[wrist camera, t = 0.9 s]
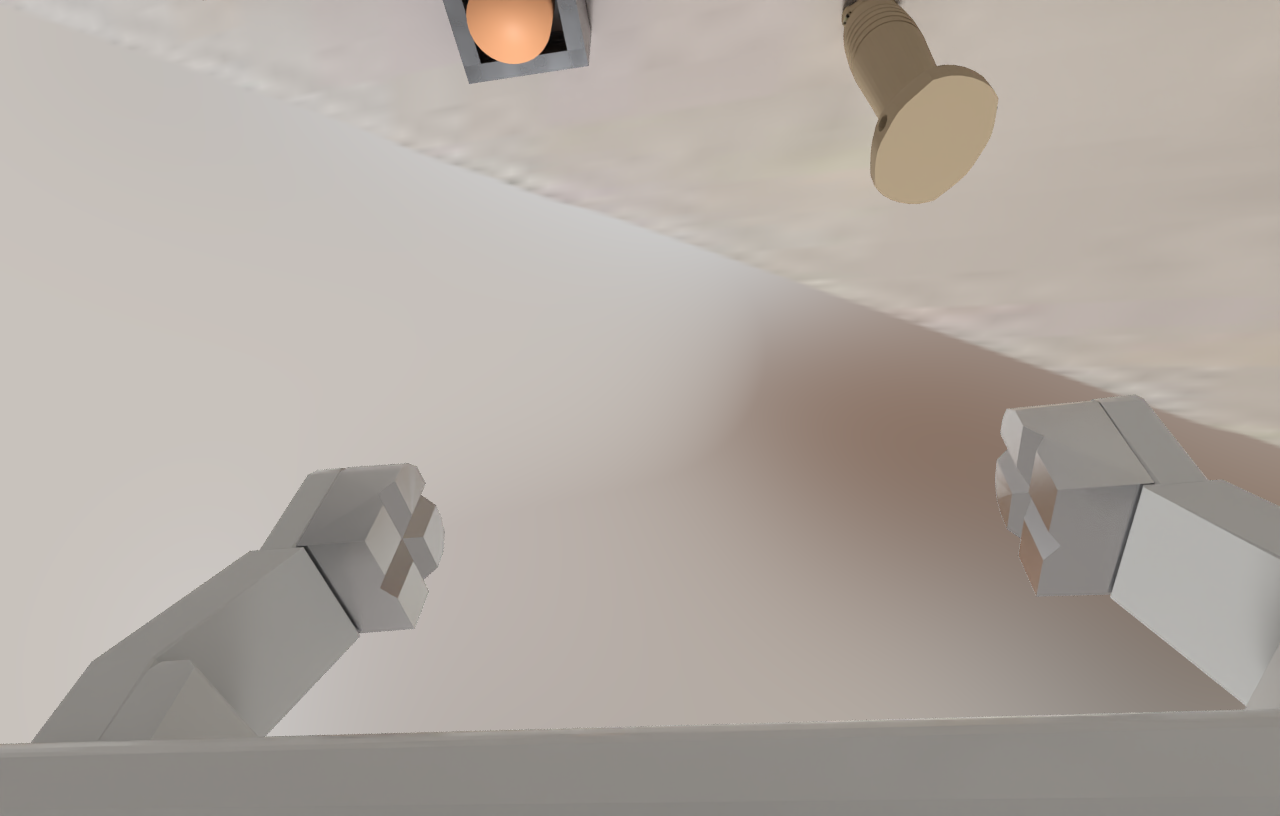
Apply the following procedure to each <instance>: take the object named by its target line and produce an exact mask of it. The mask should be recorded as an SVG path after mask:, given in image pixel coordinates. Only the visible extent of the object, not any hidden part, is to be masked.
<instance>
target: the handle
mask: <svg viewBox="0 0 1280 816" xmlns="http://www.w3.org/2000/svg"><path fill="white" fill-rule="evenodd" d="M842 23H843V25H844V36H843V37H844V47H845V53H846V56H847V60H848V64H849V67H850V69H851V72H852V74H853V76H854V79H855V81H856V83H857V85H858V86H859V88H860V89H861V91H862V93H863V94H864V96H865V97H866V99H867V101H868V102H869V104H870V105H871V107H872V109H873V110H874V112H875V114H876V116H877V117H878V119H879V120H878V122H877V125H876V128H875V132H874V136H873V141H872V147H871V162H870V173H871V178H872V180H873V183H874V185H875V187H876V188H877V190H878V191H879V192H880V193H881V194H882V195H883V196H885V197H887V198H889V199H891V200H894V201H897V202H901V203H907V204H920V203H926V202H930V201H933V200H935V199H937V198H938V197H939V196H940V195H942V194H943V193H944V192H946V191H947V190H948V189H950V188H951V187H952V186H953V185H955V184H956V183H957V182H958V181H959V180H961V179H962V178H963V177H964V176H965V175H966V174H967V173H968V171H969V170H970V169H971V167H972V166H973V165H974V163H975V162H976V160H977V159H978V157H979V155H980V154H981V152H982V151H983V149H984V148H985V146H986V144H987V142H988V141H989V139H990V137H991V134H992V130H993V127H994V122H995V117H996V111H997V104H998V97H997V95H996V93H995V91H994V90H993V89H992V87H991V86H990V85H989V83H988V82H987V81H986V80H985V78H984V77H983V76H981V75H980V74H978V73H977V72H975V71H973V70H971V69H968V68H966V67H962V66H956V65H941V66H936V64H935V61H934V59H933V57H932V55H931V52H930V50H929V48H928V45H927V43H926V41H925V39H924V36H923V35H922V33H921V31H920V30H919V28H918V27H917V25H916V24H915V22H914V21H913V19H912V18H911V17H910V16H909V15H908V14H907V13H906V12H905V11H904V10H903V9H902V8H901V7H900V6H899V5H898V4H897V3H896V2H895V1H894V0H857V1H856V2H855V3H854V4H852V5H851V6H847V7H846V8H845V9H844V11H843V14H842Z"/></svg>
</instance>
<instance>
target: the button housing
mask: <svg viewBox="0 0 1280 816" xmlns="http://www.w3.org/2000/svg"><path fill="white" fill-rule="evenodd" d="M468 1H469V0H443V2H444V6H445V9H446V12H447V15H448V18H449V21H450V24H451V28H452V31H453V34H454V37H455V40H456V43H457V46H458V50H459V53H460V56H461V59H462V62H463V65H464V69H465V72H466V75H467V78H468V81H469V84H471V83H478V82H485V81H491V80H498V79H504V78H511V77H518V76H524V75H531V74H538V73H544V72H551V71H558V70H564V69H571V68H577V67H584V66H589V55H590V43H591V29H590V23H589V18H588V13H587V7H586V2H585V0H555V9H554V15H553V21H552V27H551V32H550V37H549V40H548V42H547V44H546V46H545V48H544V49H543V51H542V52H541V53H540V54H539V55H538V56H536V57H535V58H534V59H532V60H530V61H528V62H525V63H520V64H508V63H503V62H500V61H497V60H495V59H493V58H491V57H490V56H488V55H487V54H486V53H484V52H483V51H482V50H481V49H480V48H479V47H478V45H477V44H476V43H475V41H474V40H473V38H472V36H471V34H470V31H469V28H468V24H467V18H466V11H467V4H468Z"/></svg>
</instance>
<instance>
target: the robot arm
mask: <svg viewBox="0 0 1280 816" xmlns="http://www.w3.org/2000/svg"><path fill="white" fill-rule="evenodd" d="M1000 434H1001V436H1002V438H1003V440H1004V442H1005V444H1006V446H1007V448H1008V449H1007V450H1006V451H1005V452H1004V453H1003V454H1002V455H1001V456H1000V457H999V458H998V459H997V465H996V475H995V484H996V495H997V502H998V505H999V509H1000V512H1001V516H1002V518H1003V521H1004V523H1005V526H1006V528H1007V529H1008V530H1009V531H1010V532H1012V533H1013V534H1015V535H1016V536H1018V537H1019V538H1021V541H1020V548H1019V554H1018V556H1019V558H1020V561H1021V563H1022V565H1023V568H1024V570H1025V572H1026V574H1027V576H1028V579H1029V581H1030V583H1031V586H1032V588H1033V590H1034V592H1035V594H1036V596H1067V595H1102V594H1111V597H1110V598H1111V599H1113V600H1114V601H1115V602H1116V603H1118V604H1119V605H1120V606H1121V607H1123V608H1124V609H1125V610H1127V611H1128V612H1129V613H1130V614H1132V615H1133V616H1134V617H1135V618H1137V619H1138V620H1139V621H1140V622H1142V623H1143V624H1144V625H1145V626H1147V627H1148V628H1149V629H1151V630H1152V631H1153V632H1154V633H1155V634H1157V635H1158V636H1159V637H1160V638H1162V639H1163V640H1164V641H1165V642H1167V643H1168V644H1169V645H1170V646H1172V647H1173V648H1174V649H1176V650H1177V651H1178V652H1179V653H1180V654H1182V655H1183V656H1184V657H1185V658H1187V659H1188V660H1189V661H1190V662H1192V663H1193V664H1194V665H1195V666H1197V667H1198V668H1199V669H1200V670H1202V671H1203V672H1204V673H1205V674H1207V675H1208V676H1209V677H1210V678H1212V679H1213V680H1214V681H1216V682H1217V683H1218V684H1219V685H1220V686H1222V687H1223V688H1224V689H1226V690H1227V691H1228V692H1229V693H1231V694H1232V695H1233V696H1234V697H1236V698H1237V699H1238V700H1239V701H1241V702H1242V703H1243V704H1244V705H1246V708H1245V710H1222V711H1185V712H1147V713H1110V714H1075V715H1074V714H1073V715H1035V716H999V717H963V718H929V719H895V720H894V719H892V720H860V721H859V720H857V721H823V722H822V721H821V722H786V723H750V724H713V725H678V726H676V725H675V726H640V727H639V726H638V727H604V728H603V727H601V728H563V729H530V730H529V729H528V730H527V729H526V730H490V731H455V732H454V731H453V732H417V733H381V734H348V735H346V734H344V735H312V736H311V735H309V736H274V737H273V736H272V737H265V736H266V735H267V734H268V733H269V732H270V731H271V730H272V729H273V728H274V727H275V726H276V725H277V723H278V722H279V721H280V720H281V719H282V718H283V717H284V716H285V715H286V714H287V713H288V712H289V711H290V710H291V709H292V708H293V707H294V706H295V705H296V703H297V702H298V701H299V700H300V699H301V698H302V697H303V696H304V695H305V694H306V693H307V692H308V691H309V690H310V689H311V688H312V686H314V684H315V683H316V682H317V681H318V680H319V679H320V678H321V677H322V676H323V675H324V674H325V673H326V672H327V671H328V670H329V669H330V668H331V667H332V665H333V664H334V663H335V662H336V661H337V660H338V659H339V658H340V657H341V656H342V655H343V654H344V653H345V652H346V650H348V649H349V647H350V646H351V645H352V644H353V643H354V642H355V641H356V640H357V639H358V638H359V637H360V634H359V633H368V632H380V631H392V630H405V629H414V628H415V626H416V624H417V621H418V618H419V616H420V613H421V611H422V608H423V605H424V603H425V600H426V597H427V595H428V592H429V591H428V588H427V587H426V584H425V582H424V579H425V578H426V577H427V576H428V575H429V574H431V572H433V571H434V570H435V569H436V568H437V567H438V565H439V562H440V559H441V557H442V554H443V549H444V527H443V523H442V518H441V515H440V513H439V511H438V509H437V507H436V505H435V504H433V503H432V502H430V501H429V500H428V499H426V498H425V497H423V496H422V495H421V494H422V491H423V489H424V486H425V484H426V483H425V481H424V479H423V477H422V475H421V473H420V472H419V470H418V468H417V466H414V465H411V464H409V463H406V464H390V465H375V466H360V467H348V468H338V469H326V470H325V469H324V470H316V471H315V472H313V473H311V474H309V475H308V476H307V477H306V479H305V480H304V482H303V483H302V485H301V487H300V488H299V490H298V491H297V493H296V494H295V496H294V497H293V499H292V501H291V502H290V504H289V505H288V507H287V508H286V510H285V511H284V513H283V515H282V516H281V518H280V519H279V521H278V522H277V524H276V526H275V527H274V529H273V530H272V532H271V534H270V535H269V537H268V538H267V539H266V541H265V543H264V544H263V546H262V547H261V549H260V550H256V551H249V552H248V553H246V554H245V555H244V556H242V557H241V558H239V559H238V560H236V561H235V562H234V563H232V564H231V565H229V566H228V567H226V568H225V569H224V570H222V571H221V572H219V573H218V574H216V575H215V576H214V577H212V578H211V579H209V580H208V581H207V582H205V583H204V584H202V585H201V586H199V587H198V588H196V589H195V590H194V591H192V592H191V593H189V594H188V595H186V596H185V597H184V598H182V599H181V600H179V601H178V602H176V603H175V604H174V605H172V606H171V607H169V608H168V609H166V610H165V611H164V612H162V613H161V614H159V615H158V616H156V617H155V618H154V619H152V620H151V621H149V622H148V623H146V624H145V625H144V626H142V627H141V628H139V629H138V630H136V631H135V632H134V633H132V634H131V635H129V636H128V637H126V638H125V639H124V640H122V641H121V642H119V643H118V644H117V645H115V646H114V647H112V648H111V649H109V650H108V651H107V652H105V653H104V654H102V655H101V656H99V657H98V658H96V659H95V660H94V661H92V662H91V664H90V665H89V666H88V667H87V669H86V670H85V672H84V673H83V674H82V675H81V677H80V678H79V679H78V681H77V682H76V683H75V685H74V686H73V687H72V689H71V690H70V691H69V693H68V694H67V695H66V697H65V698H64V699H63V701H62V702H61V703H60V705H59V706H58V708H57V709H56V710H55V711H54V712H53V714H52V715H51V717H50V718H49V719H48V721H47V722H46V723H45V725H44V726H43V727H42V729H41V730H40V731H39V732H38V734H37V735H36V736H35V738H34V739H33V740H32V742H31V743H18V744H0V816H1280V506H1277V505H1275V504H1273V503H1271V502H1269V501H1267V500H1265V499H1263V498H1261V497H1258V496H1256V495H1254V494H1252V493H1250V492H1248V491H1246V490H1244V489H1241V488H1239V487H1237V486H1235V485H1233V484H1231V483H1229V482H1227V481H1224V480H1212V481H1211V480H1210V481H1209V480H1208V479H1207V478H1206V477H1205V475H1204V474H1203V473H1202V472H1201V470H1200V469H1199V468H1198V466H1197V465H1196V464H1195V463H1194V461H1193V460H1192V459H1191V458H1190V456H1189V455H1188V454H1187V453H1186V451H1185V450H1184V449H1183V447H1182V446H1181V445H1180V444H1179V443H1178V441H1177V440H1176V439H1175V437H1174V436H1173V435H1172V434H1171V432H1170V431H1169V430H1168V429H1167V427H1166V426H1165V425H1164V424H1163V422H1162V421H1161V420H1160V419H1159V417H1158V416H1157V415H1156V413H1155V412H1154V411H1153V410H1152V408H1151V407H1150V406H1149V405H1148V403H1147V402H1146V401H1145V400H1144V399H1143V398H1141V397H1139V396H1137V395H1128V396H1119V397H1110V398H1101V399H1093V400H1091V401H1083V402H1073V403H1062V404H1052V405H1042V406H1032V407H1021V408H1011V409H1007V410H1006V412H1005V414H1004V417H1003V420H1002V427H1001V433H1000Z"/></svg>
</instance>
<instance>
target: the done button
mask: <svg viewBox="0 0 1280 816" xmlns="http://www.w3.org/2000/svg"><path fill="white" fill-rule="evenodd" d="M554 9H555V0H469V1H468V4H467V11H466V18H467V24H468V28H469V31H470V34H471V36H472V38H473V40H474V41H475V43H476V44H477V45H478V47H479V48H480V49H481V50H482V51H483V52H484V53H486V54H487V55H488V56H490V57H491V58H493V59H495V60H497V61H500V62H503V63H508V64H520V63H525V62H528V61H530V60H532V59H534V58H535V57H536V56H538V55H539V54H540V53H541V52H542V51H543V49H544V48H545V46H546V44H547V42H548V40H549V37H550V32H551V27H552V21H553V15H554Z"/></svg>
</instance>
